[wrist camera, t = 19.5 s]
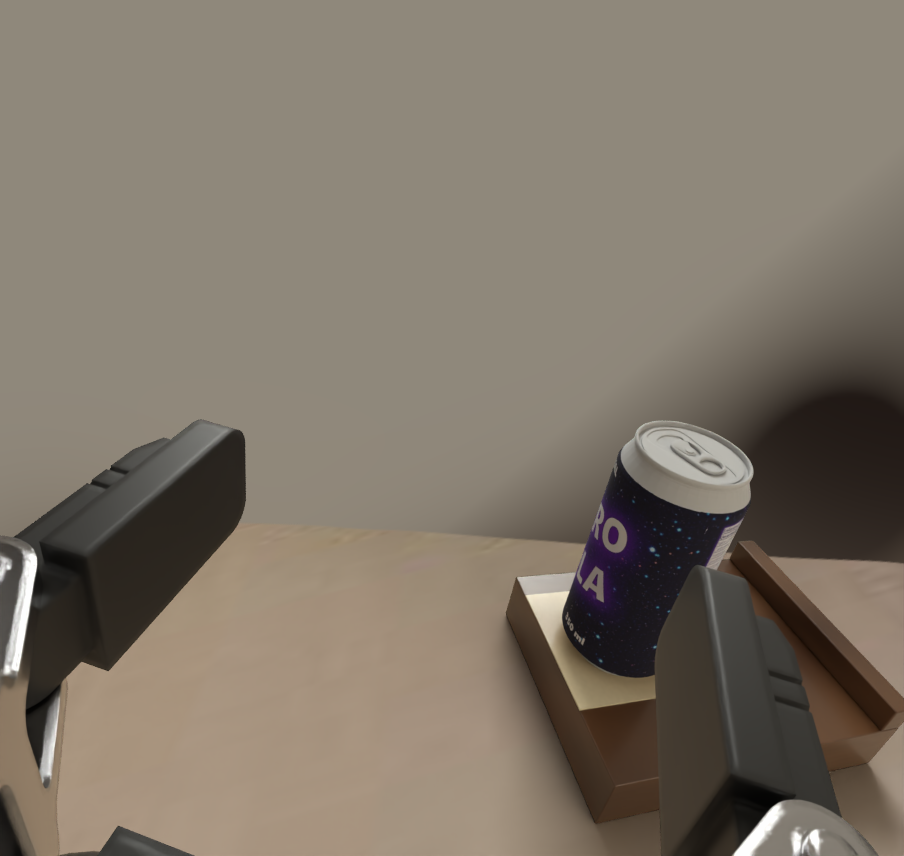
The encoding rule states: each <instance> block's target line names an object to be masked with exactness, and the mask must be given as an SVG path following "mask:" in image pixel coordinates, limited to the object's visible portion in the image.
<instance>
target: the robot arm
mask: <svg viewBox="0 0 904 856" xmlns="http://www.w3.org/2000/svg"><path fill="white" fill-rule="evenodd" d="M245 478H246V477H245V438H244V435H243V433H242V432H241V431H240V430H236V429H233V428H229V427H226V426H223V425H219V424H215V423H212V422H209V421H206V420H197V421H195V422H193V423H192V424H190V425H189V426H188V427H187V428H185V429H184V430H183V431H181V432H180V433H179V434H177V435H176V436H175V437H173V438H172V439H171V440H170V439H167V438H162V439H159V440H156V441H154V442H151V443H149V444H146V445H143V446H141V447H138V448H136V449H133V450H132V451H130V452H129V453H128V454H126V455H125V456H124V457H123V458H121V459H120V460H118V461H117V462H115V463H114V464H113V465H111V468H110V470H107V469H106V470H105V471H103V472H102V473H100V474H99V475H98V476H96V477H95V478H94V479H93V480H92V482H91V484H88V483H87V484H86V485H84V486H83V487H82V488H80V489H79V490H77V491H76V492H75V493H73V494H72V495H71V496H69V497H68V498H67V499H65V500H64V501H62V502H61V503H60V504H58V505H57V506H56V507H54V508H53V509H52V510H50V511H49V512H47V513H46V514H45V515H43V516H42V517H41V518H39V519H38V520H37V521H35V522H34V523H32V524H31V525H30V526H28V527H27V528H26V529H24V530H23V531H22V532H20V533H19V534H18V535H16V536H15V537H8V536H0V856H194V855H191V854H189V853H186V852H184V851H181V850H179V849H176V848H174V847H171V846H168V845H166V844H163V843H161V842H158V841H156V840H153V839H151V838H148V837H146V836H143V835H141V834H138V833H135V832H133V831H130V830H128V829H125V828H123V827H120V826H118V827H117V828H116V829H115V831H114V832H113V834H112V835H111V837H110V838H109V840H108V841H107V842H106V844H105V845H104V847H103V848H102V850H101V851H100V852H97V851H91V852H78V853H68V854H63V855H59V833H58V824H57V794H58V784H59V774H60V764H61V753H62V743H63V733H64V723H65V713H66V703H67V692H68V683H67V679H66V677H67V676H68V675H69V674H70V673H71V672H72V671H73V670H74V669H75V668H76V667H77V665H78V664H79V663H80V662H84V663H87V664H90V665H93V666H95V667H98V668H101V669H104V670H107V671H109V670H110V669H111V668H112V667H113V666H114V664H115V663H116V662H117V661H118V660H119V659H120V658H121V657H122V655H123V654H124V653H125V652H126V651H127V650H128V649H129V648H130V647H131V645H132V644H133V643H134V642H135V641H136V640H137V639H138V638H139V636H140V635H141V634H142V633H143V632H144V631H145V630H146V629H147V627H148V626H149V625H150V624H151V623H152V622H153V621H154V620H155V618H156V617H157V616H158V615H159V614H160V613H161V612H162V611H163V610H164V608H165V607H166V606H167V605H168V604H169V603H170V602H171V601H172V599H173V598H174V597H175V596H176V595H177V594H178V593H179V592H180V590H181V589H182V588H183V587H184V586H185V585H186V584H187V583H188V581H189V580H190V579H191V578H192V577H193V576H194V575H195V574H196V573H197V571H198V570H199V569H200V568H201V567H202V566H203V565H204V564H205V562H206V561H207V560H208V559H209V558H210V557H211V556H212V555H213V553H214V552H215V551H216V550H217V549H218V548H219V547H220V546H221V544H222V543H223V542H224V541H225V540H226V539H227V538H228V537H229V536H230V534H231V533H232V532H233V531H234V529H235V528H236V526H237V525H238V523H239V521H240V519H241V516H242V514H243V511H244V507H245V501H246V481H245V480H246V479H245ZM802 681H803V679H802V676H801V672H800V669H799V665H798V662H797V658H796V655H795V651H794V649H793V648H792V646H791V645H790V643H789V642H788V641H787V639H786V638H785V636H784V635H783V633H782V632H781V631H780V629H779V628H778V626H777V625H776V623H775V622H774V621H773V620H771V619H768V618H764V617H761V616H758V615H755V611H754V607H753V602H752V598H751V594H750V589H749V585H748V582H747V581H746V579H745V578H742V577H739V576H735V575H732V574H728V573H725V572H721V571H718V570H714V569H711V568H708V567H704V566H701V565H696V566H694V567H693V568H692V570H691V571H690V573H689V575H688V577H687V579H686V581H685V583H684V585H683V587H682V589H681V591H680V593H679V595H678V597H677V599H676V601H675V603H674V605H673V607H672V609H671V611H670V613H669V615H668V617H667V619H666V621H665V623H664V625H663V628H662V630H661V633H660V636H659V639H658V643H657V648H656V654H655V692H656V720H657V748H658V776H659V804H660V833H661V856H878V854H877V853H876V851H875V850H874V849H873V847H872V846H871V845H870V844H869V843H868V842H867V840H866V839H865V838H864V837H863V836H862V835H861V834H860V833H859V832H858V831H857V830H856V829H855V828H854V827H852V826H851V825H850V824H849V823H847V822H846V821H845V820H844V819H842V816H841V814H840V810H839V807H838V803H837V800H836V796H835V793H834V789H833V786H832V782H831V779H830V775H829V772H828V768H827V764H826V761H825V757H824V754H823V750H822V747H821V743H820V740H819V736H818V733H817V729H816V725H815V722H814V718H813V715H812V713H811V712H809V707H810V704H809V701H808V697H807V694H806V690H805V687H804V686H802Z"/></svg>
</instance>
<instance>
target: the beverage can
mask: <svg viewBox="0 0 904 856" xmlns="http://www.w3.org/2000/svg"><path fill="white" fill-rule="evenodd" d="M752 476H753V467H752V464H751V462H750V460H749V459H748V457H747V456H746V455H745V454H744V453H743V452H742V451H741V450H740V449H739V448H738V447H736V446H735V445H734V444H732V443H731V442H729V441H727V440H726V439H724V438H723V437H721V436H719V435H717V434H715V433H713V432H710V431H708V430H705V429H703V428H700V427H697V426H693V425H690V424H686V423H681V422H675V421H653V422H649V423H646V424H644V425H642V426H641V427H640V428H639V429H638V430H637V431H636V434H635V438H633V439H632V440H631V441H630V442H628V443H627V444H626V445H625V446H624V447H623V448H622V449H621V450H620V452H619V454H618V457H617V459H616V462H615V465H614V468H613V471H612V473H611V476H610V479H609V482H608V485H607V487H606V490H605V494H604V496H603V499H602V502H601V505H600V507H599V510H598V513H597V516H596V518H595V521H594V524H593V527H592V530H591V532H590V535H589V538H588V541H587V544H586V546H585V549H584V552H583V555H582V558H581V560H580V563H579V566H578V569H577V572H576V575H575V577H574V580H573V583H572V586H571V589H570V591H569V594H568V597H567V600H566V603H565V605H564V608H563V613H562V622H563V627H564V630H565V632H566V635H567V637H568V638H569V640H570V642H571V643H572V644H573V646H574V647H575V648H576V649H577V650H578V651H579V653H580V654H581V655H582V656H583V657H584V658H585V659H586V660H587V661H588V662H589V663H591V664H592V665H593V666H595V667H596V668H598V669H600V670H602V671H604V672H606V673H609V674H612V675H616V676H624V677H631V678H643V677H649V676H653V675H655V654H656V648H657V643H658V639H659V636H660V633H661V630H662V628H663V625H664V623H665V621H666V619H667V617H668V615H669V613H670V611H671V609H672V607H673V605H674V603H675V601H676V599H677V597H678V595H679V593H680V591H681V589H682V587H683V585H684V583H685V581H686V579H687V577H688V575H689V573H690V571H691V570H692V568H693V567H694V566H696V565H701V566H704V567H708V568H711V569H714V570H717V569H718V567H719V565H720V563H721V561H722V559H723V557H724V555H725V553H726V551H727V549H728V547H729V545H730V543H731V541H732V539H733V537H734V535H735V533H736V531H737V530H738V528H739V525H740V524H741V522H742V520H743V518H744V516H745V514H746V512H747V510H748V508H749V506H750V503H751V494H750V485H749V482H750V480H751V479H752Z"/></svg>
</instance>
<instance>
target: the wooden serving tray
mask: <svg viewBox="0 0 904 856" xmlns="http://www.w3.org/2000/svg"><path fill="white" fill-rule="evenodd" d="M717 570H718V571H721V572H725V573H728V574H732V575H735V576H739V577H742V578H745V579H746V581H747V582H748V585H749V589H750V594H751V598H752V602H753V607H754V611H755V615H758V616H761V617H764V618H768V619H771V620H773V621H774V622H775V623H776V625H777V626H778V628H779V629H780V631H781V632H782V633H783V635H784V636H785V638H786V639H787V641H788V642H789V643H790V645H791V646H792V648H793V649H794V651H795V655H796V658H797V662H798V665H799V669H800V672H801V676H802V679H803V681H802V686H804V687H805V690H806V694H807V697H808V701H809V704H810V707H809V712H811V713H812V715H813V718H814V722H815V725H816V729H817V733H818V736H819V740H820V743H821V747H822V750H823V754H824V757H825V761H826V764H827V768H828V772H829V771H833V770H838V769H842V768H847V767H851V766H855V765H860V764H864V763H869V761H870V760H871V759H872V758H873V757H874V756H875V755H876V753H877V752H878V751H879V750H880V749H881V748H882V746H883V745H884V744H885V743H886V742H887V741H888V740H889V738H890V737H891V736H892V735H893V734H894V733H895V731H896V730H897V729H898V727H899V726H900V725H901V724H902V723H903V722H904V698H903V697H902V696H901V695H900V694H899V693H898V692H897V691H896V690H895V689H894V687H893V686H892V685H891V684H890V683H889V682H888V681H887V680H886V679H885V678H884V677H883V676H882V675H881V674H880V673H879V672H878V671H877V670H876V669H875V668H874V667H873V666H872V664H871V663H870V662H869V661H868V660H867V659H866V658H865V657H864V656H863V655H862V654H861V653H860V652H859V651H858V650H857V649H856V648H855V647H854V646H853V645H852V644H851V643H850V641H849V640H848V639H847V638H846V637H845V636H844V635H843V634H842V633H841V632H840V631H839V630H838V629H837V628H836V627H835V626H834V625H833V624H832V623H831V622H830V621H829V620H828V619H827V617H826V616H825V615H824V614H823V613H822V612H821V611H820V610H819V609H818V608H817V607H816V606H815V605H814V604H813V603H812V602H811V601H810V600H809V599H808V598H807V597H806V596H805V594H804V593H803V592H802V591H801V590H800V589H799V588H798V587H797V586H796V585H795V584H794V583H793V582H792V581H791V580H790V579H789V578H788V577H787V576H786V575H785V574H784V573H783V571H782V570H781V569H780V568H779V567H778V566H777V565H776V564H775V563H774V562H773V561H772V560H771V559H770V558H769V557H768V556H767V555H766V554H765V553H764V552H763V551H762V550H761V549H760V548H759V546H757V544H756V543H755V542H754V541H742V542H738V543H737V545H736V547H735V549H734V551H733V553H732V555H731V557H730V559H725V560H722V561H721V563H720V565H719V567H718V569H717ZM575 575H576V572H572V573H560V574H548V575H536V576H524V577H516V580H515V583H514V587H513V590H512V594H511V597H510V601H509V604H508V608H507V611H506V615H507V617H508V620H509V622H510V624H511V627H512V629H513V631H514V634H515V636H516V638H517V641H518V643H519V645H520V648H521V650H522V652H523V655H524V657H525V659H526V662H527V664H528V666H529V669H530V671H531V674H532V676H533V678H534V681H535V683H536V685H537V688H538V690H539V692H540V695H541V697H542V699H543V702H544V704H545V706H546V709H547V711H548V713H549V716H550V718H551V720H552V723H553V725H554V727H555V730H556V732H557V734H558V737H559V739H560V741H561V744H562V746H563V749H564V751H565V753H566V756H567V758H568V760H569V763H570V765H571V767H572V770H573V772H574V774H575V777H576V779H577V781H578V784H579V786H580V788H581V791H582V793H583V795H584V798H585V800H586V802H587V805H588V807H589V809H590V812H591V814H592V817H593V819H594V821H595V823H596V824H597V823H601V822H606V821H610V820H615V819H619V818H624V817H628V816H632V815H637V814H641V813H646V812H650V811H655V810H659V809H660V804H659V776H658V748H657V720H656V692H655V675H653V676H649V677H643V678H631V677H624V676H616V675H612V674H609V673H606V672H604V671H602V670H600V669H598V668H596V667H595V666H593V665H592V664H591V663H589V662H588V661H587V660H586V659H585V658H584V657H583V656H582V655H581V654H580V653H579V651H578V650H577V649H576V648H575V647H574V646H573V644H572V643H571V642H570V640H569V638H568V637H567V635H566V632H565V630H564V627H563V622H562V613H563V608H564V605H565V603H566V600H567V597H568V594H569V591H570V589H571V586H572V583H573V580H574V577H575Z"/></svg>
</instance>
